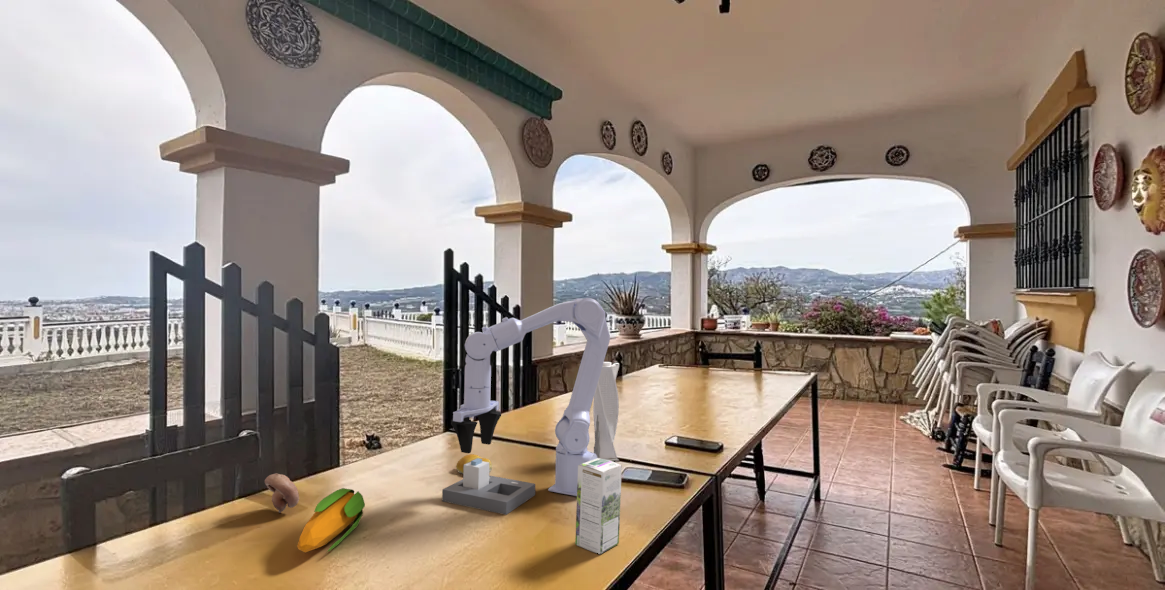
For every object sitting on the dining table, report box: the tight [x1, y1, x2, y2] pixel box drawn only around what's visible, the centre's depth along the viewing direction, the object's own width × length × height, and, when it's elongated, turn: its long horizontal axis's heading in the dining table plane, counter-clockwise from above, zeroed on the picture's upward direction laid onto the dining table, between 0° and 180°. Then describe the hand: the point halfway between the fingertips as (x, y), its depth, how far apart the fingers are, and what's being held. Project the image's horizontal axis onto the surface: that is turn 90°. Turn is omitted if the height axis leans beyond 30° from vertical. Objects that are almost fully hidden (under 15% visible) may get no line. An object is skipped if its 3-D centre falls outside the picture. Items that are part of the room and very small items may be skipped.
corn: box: [296, 487, 366, 553], centre depth 93 cm, size 7×8×20 cm
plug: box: [462, 458, 490, 490], centre depth 116 cm, size 4×4×8 cm
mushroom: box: [264, 473, 300, 513], centre depth 104 cm, size 8×6×8 cm
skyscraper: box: [592, 361, 620, 462], centre depth 146 cm, size 8×8×28 cm
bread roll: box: [455, 453, 493, 475], centre depth 132 cm, size 8×9×4 cm
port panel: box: [441, 474, 536, 516], centre depth 114 cm, size 16×12×3 cm
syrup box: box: [574, 458, 623, 555], centre depth 93 cm, size 6×6×14 cm
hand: (476, 448), depth 116 cm, fingers open, 7 cm apart
